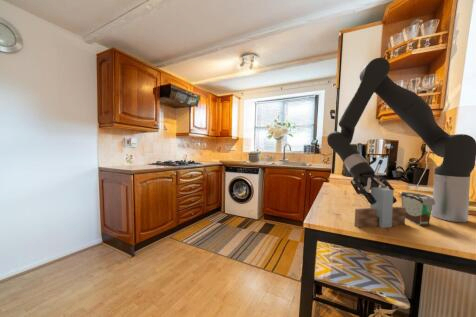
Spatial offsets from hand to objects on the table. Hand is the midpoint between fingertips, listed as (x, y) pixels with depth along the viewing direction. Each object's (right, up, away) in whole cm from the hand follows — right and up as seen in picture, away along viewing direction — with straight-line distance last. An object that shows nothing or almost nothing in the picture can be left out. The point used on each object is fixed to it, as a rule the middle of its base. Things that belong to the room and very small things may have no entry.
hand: (384, 203), depth 64 cm
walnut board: (0, -8, +1) cm, 8 cm away
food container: (+17, -8, +5) cm, 20 cm away
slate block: (0, -8, +2) cm, 8 cm away
